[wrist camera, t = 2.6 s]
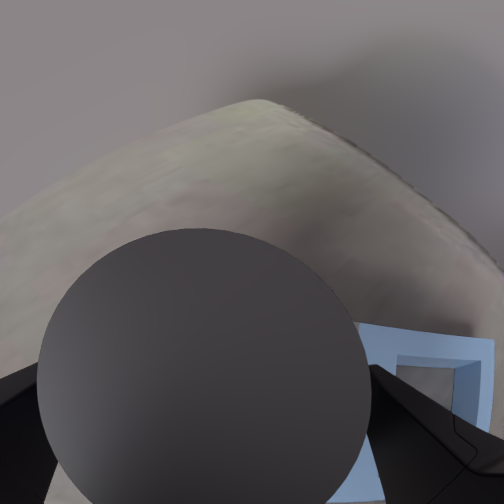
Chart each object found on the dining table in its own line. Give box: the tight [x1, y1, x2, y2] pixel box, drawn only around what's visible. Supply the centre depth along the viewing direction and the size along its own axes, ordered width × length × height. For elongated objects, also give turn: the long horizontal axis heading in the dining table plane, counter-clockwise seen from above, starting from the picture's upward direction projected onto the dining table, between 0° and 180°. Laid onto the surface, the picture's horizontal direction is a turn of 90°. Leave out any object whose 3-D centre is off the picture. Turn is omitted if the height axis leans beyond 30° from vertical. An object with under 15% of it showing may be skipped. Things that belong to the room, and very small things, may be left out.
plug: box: [37, 228, 372, 504], centre depth 9 cm, size 4×4×14 cm
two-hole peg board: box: [327, 321, 494, 502], centre depth 14 cm, size 22×10×3 cm, turn 78°
